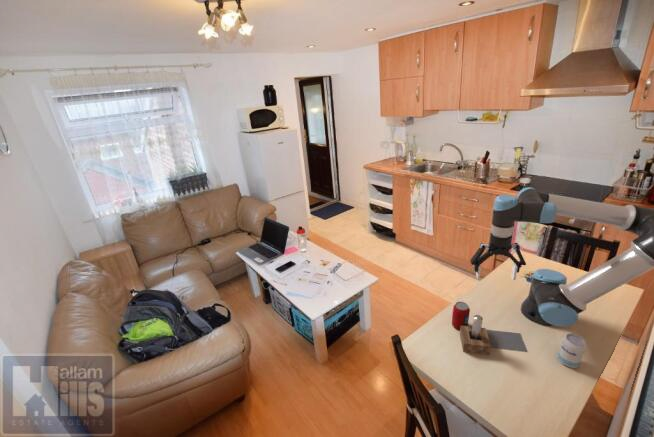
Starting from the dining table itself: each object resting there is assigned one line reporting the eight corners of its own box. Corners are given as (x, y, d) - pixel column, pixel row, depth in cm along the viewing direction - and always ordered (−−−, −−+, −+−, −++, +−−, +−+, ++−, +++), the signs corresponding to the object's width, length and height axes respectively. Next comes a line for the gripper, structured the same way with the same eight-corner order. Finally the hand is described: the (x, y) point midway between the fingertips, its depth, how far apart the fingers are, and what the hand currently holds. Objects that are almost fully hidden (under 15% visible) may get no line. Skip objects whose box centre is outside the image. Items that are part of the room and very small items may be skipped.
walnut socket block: (484, 336, 130) (485, 328, 128) (489, 355, 122) (491, 346, 119) (459, 333, 133) (460, 325, 131) (462, 352, 124) (464, 343, 122)
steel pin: (478, 347, 125) (483, 321, 119) (470, 346, 126) (474, 320, 120) (477, 341, 128) (481, 315, 122) (469, 340, 129) (473, 314, 123)
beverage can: (469, 332, 133) (472, 311, 128) (453, 330, 135) (455, 310, 130) (465, 321, 139) (468, 300, 134) (450, 320, 141) (452, 300, 136)
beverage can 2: (552, 359, 117) (560, 337, 112) (562, 351, 120) (569, 329, 115) (573, 372, 112) (581, 349, 107) (582, 363, 115) (591, 341, 110)
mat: (520, 333, 130) (520, 333, 130) (527, 352, 121) (527, 352, 121) (484, 329, 133) (484, 329, 133) (489, 347, 125) (489, 347, 125)
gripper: (533, 228, 117) (524, 273, 126) (465, 229, 123) (461, 272, 132) (541, 238, 111) (532, 284, 119) (469, 238, 116) (465, 282, 125)
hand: (495, 278), depth 126 cm, fingers open, 13 cm apart
